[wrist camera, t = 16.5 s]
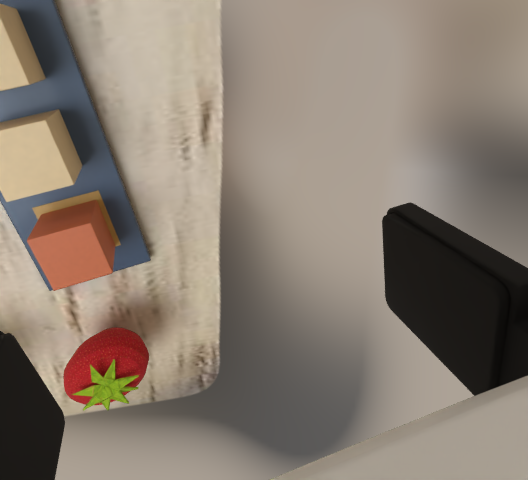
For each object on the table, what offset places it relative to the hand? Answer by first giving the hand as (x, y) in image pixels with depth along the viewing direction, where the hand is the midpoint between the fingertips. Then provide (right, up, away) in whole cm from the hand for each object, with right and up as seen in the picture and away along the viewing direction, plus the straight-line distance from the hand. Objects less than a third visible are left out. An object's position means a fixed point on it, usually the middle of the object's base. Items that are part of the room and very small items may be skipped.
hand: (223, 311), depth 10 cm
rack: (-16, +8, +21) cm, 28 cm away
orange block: (-14, +3, +23) cm, 27 cm away
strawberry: (-14, -7, +30) cm, 34 cm away
